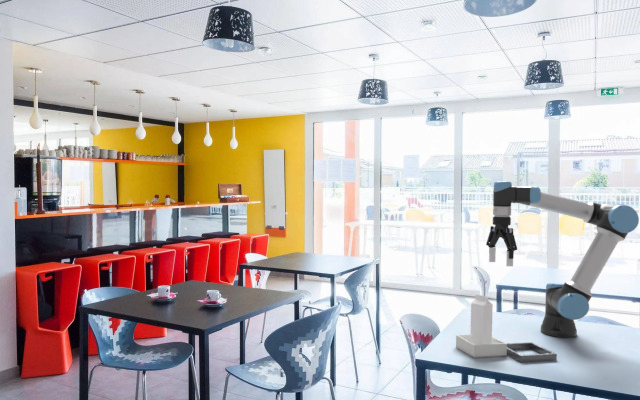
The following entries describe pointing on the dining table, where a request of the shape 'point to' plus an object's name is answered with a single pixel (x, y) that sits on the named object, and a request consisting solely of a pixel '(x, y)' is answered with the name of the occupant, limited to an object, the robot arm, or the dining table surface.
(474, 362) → the dining table surface
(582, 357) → the dining table surface
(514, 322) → the dining table surface
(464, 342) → the bin
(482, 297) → the milk
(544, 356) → the collar
